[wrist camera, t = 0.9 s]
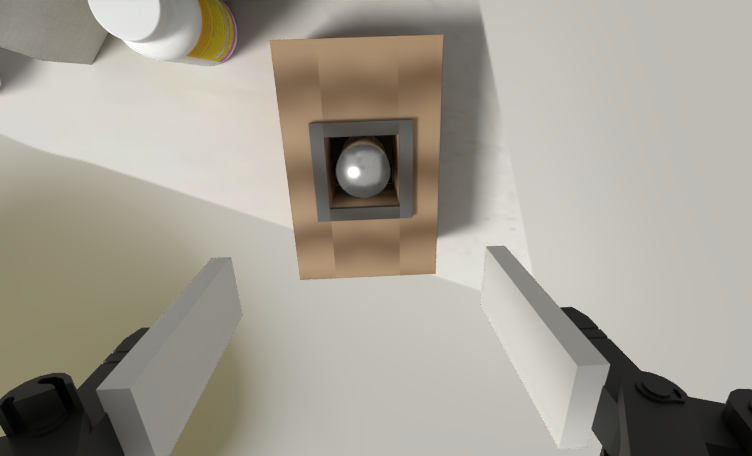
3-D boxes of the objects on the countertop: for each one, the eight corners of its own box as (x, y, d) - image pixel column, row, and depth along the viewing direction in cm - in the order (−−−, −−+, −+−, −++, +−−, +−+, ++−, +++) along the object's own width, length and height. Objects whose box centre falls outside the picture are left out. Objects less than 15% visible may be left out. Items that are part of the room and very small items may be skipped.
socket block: (288, 49, 36) (267, 39, 28) (426, 45, 36) (444, 33, 28) (310, 247, 44) (299, 282, 36) (423, 242, 44) (436, 276, 37)
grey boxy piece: (122, 5, 34) (33, -25, 25) (91, 64, 36) (-3, 57, 27) (85, -25, 33) (-23, -68, 24) (55, 37, 35) (-56, 20, 26)
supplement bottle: (228, -15, 34) (155, -70, 22) (247, 61, 36) (191, 48, 24) (159, -4, 34) (49, -53, 22) (183, 71, 36) (96, 64, 25)
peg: (339, 134, 39) (333, 145, 32) (384, 132, 39) (389, 143, 32) (342, 178, 41) (338, 198, 34) (385, 176, 41) (390, 196, 34)
